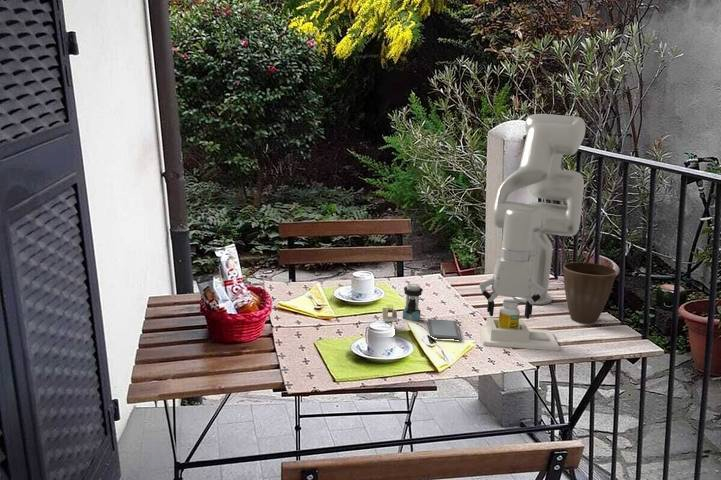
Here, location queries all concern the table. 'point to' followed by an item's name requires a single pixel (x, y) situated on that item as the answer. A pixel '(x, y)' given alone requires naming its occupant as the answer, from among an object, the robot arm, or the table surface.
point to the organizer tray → (516, 336)
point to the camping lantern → (412, 302)
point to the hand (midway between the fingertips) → (508, 315)
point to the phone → (443, 329)
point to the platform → (385, 314)
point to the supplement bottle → (509, 315)
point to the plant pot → (587, 290)
